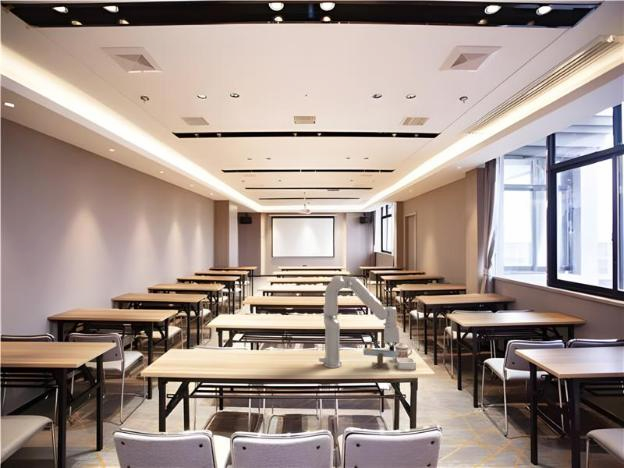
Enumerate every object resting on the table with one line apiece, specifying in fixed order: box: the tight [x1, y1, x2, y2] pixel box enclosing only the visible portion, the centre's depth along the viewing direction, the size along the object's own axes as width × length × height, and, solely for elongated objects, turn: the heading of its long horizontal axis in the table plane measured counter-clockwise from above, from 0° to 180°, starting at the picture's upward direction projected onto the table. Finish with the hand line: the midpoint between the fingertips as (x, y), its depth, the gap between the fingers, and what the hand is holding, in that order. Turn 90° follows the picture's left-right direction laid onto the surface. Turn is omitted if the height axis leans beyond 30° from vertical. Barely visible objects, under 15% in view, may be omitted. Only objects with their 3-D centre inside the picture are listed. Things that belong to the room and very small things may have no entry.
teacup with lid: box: [394, 341, 413, 358], centre depth 258 cm, size 12×9×12 cm
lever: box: [362, 347, 397, 359], centre depth 247 cm, size 22×13×3 cm, turn 84°
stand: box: [371, 354, 390, 370], centre depth 244 cm, size 10×11×10 cm
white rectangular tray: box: [395, 357, 417, 371], centre depth 242 cm, size 11×9×4 cm
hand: (391, 351), depth 249 cm, fingers closed
